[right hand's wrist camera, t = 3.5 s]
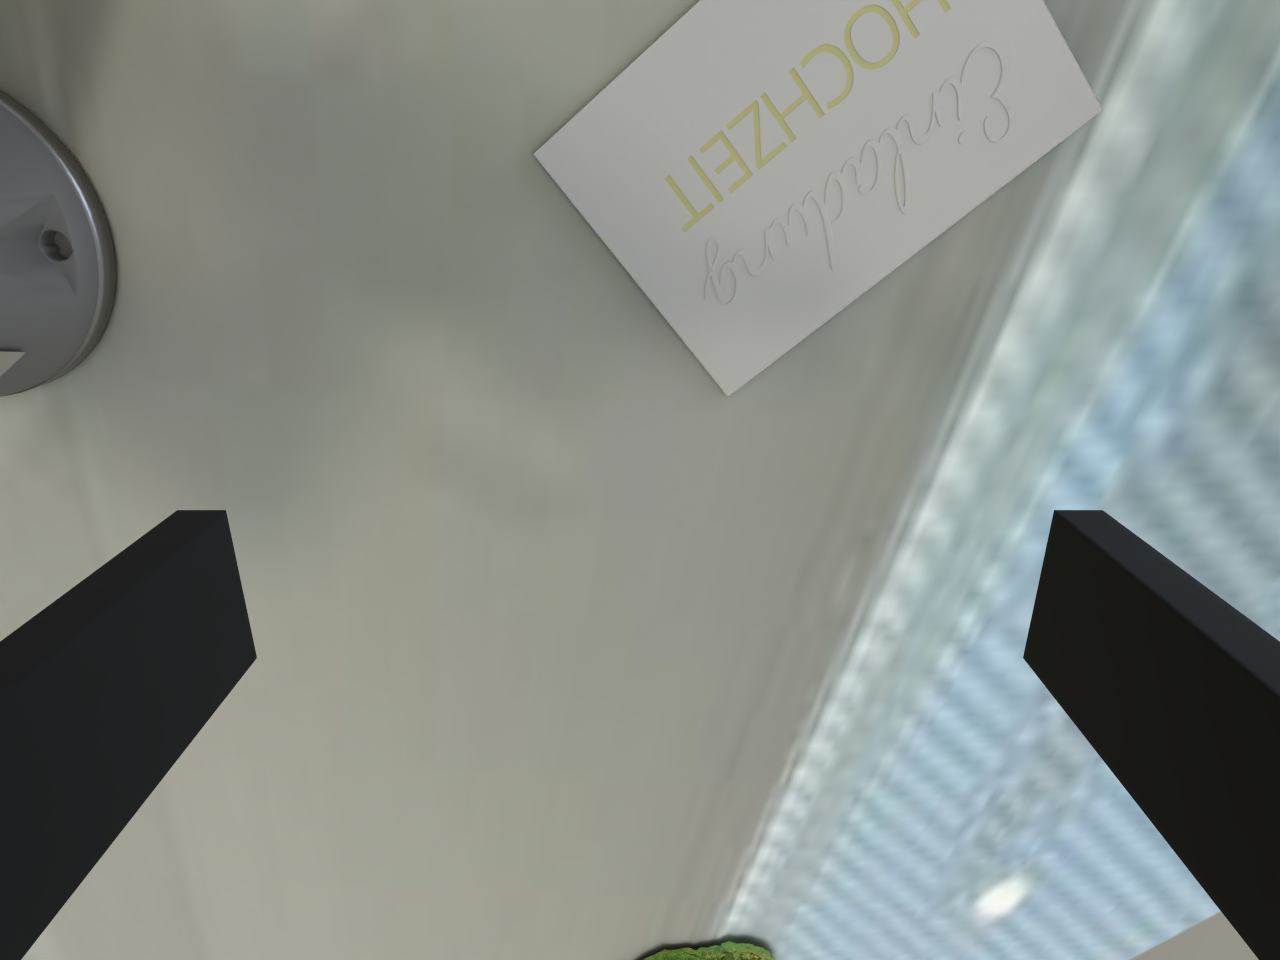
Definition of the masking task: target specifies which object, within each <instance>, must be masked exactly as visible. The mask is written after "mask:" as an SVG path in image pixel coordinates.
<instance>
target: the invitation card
mask: <svg viewBox="0 0 1280 960" xmlns="http://www.w3.org/2000/svg"><path fill="white" fill-rule="evenodd" d="M1102 110H1103V109H1102V107H1101V106H1100V104H1099V102H1098V100H1097V98H1096V96H1095V95H1094V93H1093V91H1092V89H1091V87H1090V85H1089V84H1088V82H1087V80H1086V78H1085V76H1084V74H1083V73H1082V71H1081V69H1080V67H1079V65H1078V63H1077V62H1076V60H1075V58H1074V56H1073V54H1072V53H1071V51H1070V49H1069V47H1068V45H1067V43H1066V42H1065V40H1064V38H1063V36H1062V34H1061V32H1060V31H1059V29H1058V27H1057V25H1056V23H1055V21H1054V20H1053V18H1052V16H1051V14H1050V12H1049V10H1048V9H1047V7H1046V5H1045V3H1044V1H1043V0H700V1H699V2H698V3H697V4H696V5H694V6H693V7H692V8H691V9H690V10H689V11H688V12H687V13H686V14H685V15H684V16H683V17H681V18H680V19H679V20H678V21H677V22H676V23H675V24H674V25H673V26H672V27H671V28H670V29H668V30H667V31H666V32H665V33H664V34H663V35H662V36H661V37H660V38H659V39H658V40H656V41H655V42H654V43H653V44H652V45H651V46H650V47H649V48H648V49H647V50H646V51H645V52H643V53H642V54H641V55H640V56H639V57H638V58H637V59H636V60H635V61H634V62H633V63H632V64H630V65H629V66H628V67H627V68H626V69H625V70H624V71H623V72H622V73H621V74H620V75H619V76H617V77H616V78H615V79H614V80H613V81H612V82H611V83H610V84H609V85H608V86H607V87H605V88H604V89H603V90H602V91H601V92H600V93H599V94H598V95H597V96H596V97H595V98H594V99H592V100H591V101H590V102H589V103H588V104H587V105H586V106H585V107H584V108H583V109H582V110H581V111H579V112H578V113H577V114H576V115H575V116H574V117H573V118H572V119H571V120H570V121H569V122H567V123H566V124H565V125H564V126H563V127H562V128H561V129H560V130H559V131H558V132H557V133H556V134H554V135H553V136H552V137H551V138H550V139H549V140H548V141H547V142H546V143H545V144H544V145H543V146H541V147H540V148H539V149H538V150H537V151H536V152H535V153H534V156H535V157H536V158H537V159H538V161H539V162H540V163H541V164H542V166H543V167H544V168H545V169H546V171H547V172H548V173H549V174H550V176H551V177H552V178H553V179H554V181H555V182H556V183H557V184H558V186H559V187H560V188H561V189H562V191H563V192H564V193H565V194H566V196H567V197H568V198H569V199H570V201H571V202H572V203H573V204H574V206H575V207H576V208H577V209H578V211H579V212H580V213H581V214H582V216H583V217H584V218H585V219H586V221H587V222H588V223H589V224H590V225H591V227H592V228H593V229H594V230H595V232H596V233H597V234H598V235H599V237H600V238H601V239H602V240H603V242H604V243H605V244H606V245H607V247H608V248H609V249H610V250H611V252H612V253H613V254H614V255H615V257H616V258H617V259H618V260H619V262H620V263H621V264H622V265H623V267H624V268H625V269H626V270H627V272H628V273H629V274H630V275H631V277H632V278H633V279H634V280H635V282H636V283H637V284H638V285H639V287H640V288H641V289H642V290H643V292H644V293H645V294H646V295H647V297H648V298H649V299H650V300H651V302H652V303H653V304H654V305H655V307H656V308H657V309H658V310H659V312H660V313H661V314H662V315H663V317H664V318H665V319H666V320H667V322H668V323H669V324H670V325H671V327H672V328H673V329H674V330H675V332H676V333H677V334H678V335H679V337H680V338H681V339H682V340H683V341H684V343H685V344H686V345H687V346H688V348H689V349H690V350H691V351H692V353H693V354H694V355H695V356H696V358H697V359H698V360H699V361H700V363H701V364H702V365H703V366H704V368H705V369H706V370H707V371H708V373H709V374H710V375H711V376H712V378H713V379H714V380H715V381H716V383H717V384H718V385H719V386H720V388H721V389H722V390H723V391H724V393H725V394H726V395H727V396H728V397H729V396H730V395H731V394H733V393H734V392H735V391H737V390H738V389H739V388H740V387H742V386H743V385H744V384H746V383H747V382H748V381H750V380H751V379H752V378H753V377H755V376H756V375H757V374H759V373H760V372H761V371H763V370H764V369H765V368H767V367H768V366H769V365H770V364H772V363H773V362H774V361H776V360H777V359H778V358H780V357H781V356H782V355H784V354H785V353H786V352H787V351H789V350H790V349H791V348H793V347H794V346H795V345H797V344H798V343H799V342H800V341H802V340H803V339H804V338H806V337H807V336H808V335H810V334H811V333H812V332H814V331H815V330H816V329H817V328H819V327H820V326H821V325H823V324H824V323H825V322H827V321H828V320H829V319H831V318H832V317H833V316H834V315H836V314H837V313H838V312H840V311H841V310H842V309H844V308H845V307H846V306H847V305H849V304H850V303H851V302H853V301H854V300H855V299H857V298H858V297H859V296H861V295H862V294H863V293H864V292H866V291H867V290H868V289H870V288H871V287H872V286H874V285H875V284H876V283H878V282H879V281H880V280H881V279H883V278H884V277H885V276H887V275H888V274H889V273H891V272H892V271H893V270H894V269H896V268H897V267H898V266H900V265H901V264H902V263H904V262H905V261H906V260H908V259H909V258H910V257H911V256H913V255H914V254H915V253H917V252H918V251H919V250H921V249H922V248H923V247H924V246H926V245H927V244H928V243H930V242H931V241H932V240H934V239H935V238H936V237H938V236H939V235H940V234H941V233H943V232H944V231H945V230H947V229H948V228H949V227H951V226H952V225H953V224H955V223H956V222H957V221H958V220H960V219H961V218H962V217H964V216H965V215H966V214H968V213H969V212H970V211H971V210H973V209H974V208H975V207H977V206H978V205H979V204H981V203H982V202H983V201H985V200H986V199H987V198H988V197H990V196H991V195H992V194H994V193H995V192H996V191H998V190H999V189H1000V188H1002V187H1003V186H1004V185H1005V184H1007V183H1008V182H1009V181H1011V180H1012V179H1013V178H1015V177H1016V176H1017V175H1018V174H1020V173H1021V172H1022V171H1024V170H1025V169H1026V168H1028V167H1029V166H1030V165H1032V164H1033V163H1034V162H1035V161H1037V160H1038V159H1039V158H1041V157H1042V156H1043V155H1045V154H1046V153H1047V152H1049V151H1050V150H1051V149H1052V148H1054V147H1055V146H1056V145H1058V144H1059V143H1060V142H1062V141H1063V140H1064V139H1065V138H1067V137H1068V136H1069V135H1071V134H1072V133H1073V132H1075V131H1076V130H1077V129H1079V128H1080V127H1081V126H1082V125H1084V124H1085V123H1086V122H1088V121H1089V120H1090V119H1092V118H1093V117H1094V116H1096V115H1097V114H1098V113H1099V112H1101V111H1102Z"/></svg>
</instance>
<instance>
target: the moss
mask: <svg viewBox="0 0 1280 960" xmlns="http://www.w3.org/2000/svg"><path fill="white" fill-rule="evenodd" d="M643 960H775V959H774V958H772V957H771V953H770V952H769V950H765V949H764V948H762V947H758V946H754V945H753V944H749V943H748V944H745V943H738V944H737V943H734V942H731V941H728V942H726V943H722V944H721V946H718V945H714V946H712V947H708V948H705V947H704V948H703V947H701V948H699V949H698V950H693V949H691V948H682V949H675V950H662V951H660V952H658V953H656V954H654V955H652V956H650V957H647V958H645V959H643Z"/></svg>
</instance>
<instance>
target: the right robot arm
mask: <svg viewBox="0 0 1280 960" xmlns="http://www.w3.org/2000/svg"><path fill="white" fill-rule="evenodd" d="M115 289H116V265H115V255H114V248H113V242H112V238H111V234H110V231H109V227H108V224H107V221H106V218H105V215H104V212H103V209H102V207H101V205H100V203H99V200H98V198H97V196H96V194H95V192H94V190H93V188H92V186H91V185H90V183H89V181H88V179H87V177H86V176H85V174H84V173H83V171H82V170H81V168H80V166H79V165H78V163H77V162H76V160H75V159H74V158H73V157H72V155H71V154H70V153H69V151H68V150H67V149H66V147H65V146H64V145H63V144H62V143H61V142H60V141H59V139H58V138H57V137H56V136H55V135H54V134H53V133H52V132H51V131H50V130H49V129H48V128H47V127H46V126H45V125H44V124H43V123H42V122H41V121H40V120H39V119H38V118H37V117H36V116H34V115H33V114H32V113H31V112H30V111H28V110H27V109H26V108H25V107H23V106H22V105H21V104H19V103H18V102H17V101H15V100H14V99H12V98H11V97H9V96H8V95H7V94H5V93H3V92H2V91H0V396H7V395H12V394H16V393H20V392H23V391H26V390H29V389H32V388H35V387H37V386H40V385H43V384H46V383H48V382H51V381H53V380H55V379H57V378H59V377H61V376H63V375H64V374H66V373H68V372H69V371H71V370H72V369H74V368H75V367H76V366H77V365H78V364H79V363H81V362H82V361H83V360H84V359H85V358H86V357H87V356H88V354H89V353H90V352H91V351H92V350H93V348H94V347H95V346H96V344H97V343H98V341H99V340H100V338H101V336H102V334H103V332H104V330H105V328H106V326H107V323H108V320H109V318H110V315H111V311H112V307H113V303H114V296H115ZM256 658H257V656H256V652H255V647H254V642H253V637H252V633H251V628H250V623H249V618H248V614H247V609H246V604H245V599H244V595H243V590H242V585H241V580H240V575H239V571H238V566H237V561H236V556H235V552H234V547H233V542H232V537H231V533H230V528H229V523H228V518H227V514H226V510H177V511H176V512H175V513H173V514H172V515H171V516H169V517H168V518H166V519H165V520H164V521H162V522H161V523H160V524H158V525H157V526H156V527H154V528H153V529H152V530H150V531H149V532H148V533H146V534H145V535H144V536H142V537H141V538H139V539H138V540H137V541H135V542H134V543H133V544H131V545H130V546H129V547H127V548H126V549H125V550H123V551H122V552H121V553H119V554H118V555H117V556H115V557H114V558H113V559H111V560H110V561H108V562H107V563H106V564H104V565H103V566H102V567H100V568H99V569H98V570H96V571H95V572H94V573H92V574H91V575H90V576H88V577H87V578H86V579H84V580H83V581H82V582H80V583H79V584H77V585H76V586H75V587H73V588H72V589H71V590H69V591H68V592H67V593H65V594H64V595H63V596H61V597H60V598H59V599H57V600H56V601H55V602H53V603H52V604H51V605H49V606H48V607H46V608H45V609H44V610H42V611H41V612H40V613H38V614H37V615H36V616H34V617H33V618H32V619H30V620H29V621H28V622H26V623H25V624H24V625H22V626H21V627H20V628H18V629H17V630H15V631H14V632H13V633H11V634H10V635H9V636H7V637H6V638H5V639H3V640H2V641H1V642H0V960H21V959H22V958H23V956H24V955H25V954H26V953H27V951H28V950H29V949H30V947H31V946H32V945H33V944H34V942H35V941H36V940H37V938H38V937H39V936H40V935H41V933H42V932H43V931H44V930H45V928H46V927H47V926H48V924H49V923H50V922H51V921H52V919H53V918H54V917H55V915H56V914H57V913H58V912H59V910H60V909H61V908H62V906H63V905H64V904H65V903H66V901H67V900H68V899H69V898H70V896H71V895H72V894H73V892H74V891H75V890H76V889H77V887H78V886H79V885H80V883H81V882H82V881H83V880H84V878H85V877H86V876H87V874H88V873H89V872H90V871H91V869H92V868H93V867H94V866H95V864H96V863H97V862H98V860H99V859H100V858H101V857H102V855H103V854H104V853H105V851H106V850H107V849H108V848H109V846H110V845H111V844H112V842H113V841H114V840H115V839H116V837H117V836H118V835H119V834H120V832H121V831H122V830H123V828H124V827H125V826H126V825H127V823H128V822H129V821H130V819H131V818H132V817H133V816H134V814H135V813H136V812H137V810H138V809H139V808H140V807H141V805H142V804H143V803H144V802H145V800H146V799H147V798H148V796H149V795H150V794H151V793H152V791H153V790H154V789H155V787H156V786H157V785H158V784H159V782H160V781H161V780H162V778H163V777H164V776H165V775H166V773H167V772H168V771H169V770H170V768H171V767H172V766H173V764H174V763H175V762H176V761H177V759H178V758H179V757H180V755H181V754H182V753H183V752H184V750H185V749H186V748H187V746H188V745H189V744H190V743H191V741H192V740H193V739H194V738H195V736H196V735H197V734H198V732H199V731H200V730H201V729H202V727H203V726H204V725H205V723H206V722H207V721H208V720H209V718H210V717H211V716H212V714H213V713H214V712H215V711H216V709H217V708H218V707H219V706H220V704H221V703H222V702H223V700H224V699H225V698H226V697H227V695H228V694H229V693H230V691H231V690H232V689H233V688H234V686H235V685H236V684H237V682H238V681H239V680H240V679H241V677H242V676H243V675H244V674H245V672H246V671H247V670H248V668H249V667H250V666H251V665H252V663H253V662H254V661H255V659H256ZM1023 658H1024V659H1025V661H1026V662H1027V663H1028V665H1029V666H1030V667H1031V668H1032V670H1033V671H1034V672H1035V674H1036V675H1037V676H1038V677H1039V679H1040V680H1041V681H1042V682H1043V684H1044V685H1045V686H1046V688H1047V689H1048V690H1049V691H1050V693H1051V694H1052V695H1053V697H1054V698H1055V699H1056V700H1057V702H1058V703H1059V704H1060V706H1061V707H1062V708H1063V709H1064V711H1065V712H1066V713H1067V714H1068V716H1069V717H1070V718H1071V720H1072V721H1073V722H1074V723H1075V725H1076V726H1077V727H1078V729H1079V730H1080V731H1081V732H1082V734H1083V735H1084V736H1085V738H1086V739H1087V740H1088V741H1089V743H1090V744H1091V745H1092V746H1093V748H1094V749H1095V750H1096V752H1097V753H1098V754H1099V755H1100V757H1101V758H1102V759H1103V761H1104V762H1105V763H1106V764H1107V766H1108V767H1109V768H1110V770H1111V771H1112V772H1113V773H1114V775H1115V776H1116V777H1117V778H1118V780H1119V781H1120V782H1121V784H1122V785H1123V786H1124V787H1125V789H1126V790H1127V791H1128V793H1129V794H1130V795H1131V796H1132V798H1133V799H1134V800H1135V802H1136V803H1137V804H1138V805H1139V807H1140V808H1141V809H1142V810H1143V812H1144V813H1145V814H1146V816H1147V817H1148V818H1149V819H1150V821H1151V822H1152V823H1153V825H1154V826H1155V827H1156V828H1157V830H1158V831H1159V832H1160V834H1161V835H1162V836H1163V837H1164V839H1165V840H1166V841H1167V842H1168V844H1169V845H1170V846H1171V848H1172V849H1173V850H1174V851H1175V853H1176V854H1177V855H1178V857H1179V858H1180V859H1181V860H1182V862H1183V863H1184V864H1185V866H1186V867H1187V868H1188V869H1189V871H1190V872H1191V873H1192V874H1193V876H1194V877H1195V878H1196V880H1197V881H1198V882H1199V883H1200V885H1201V886H1202V887H1203V889H1204V890H1205V891H1206V892H1207V894H1208V895H1209V896H1210V898H1211V899H1212V900H1213V901H1214V903H1215V904H1216V905H1217V906H1218V908H1219V909H1220V910H1221V912H1222V913H1223V914H1224V915H1225V917H1226V918H1227V919H1228V921H1229V922H1230V923H1231V924H1232V926H1233V927H1234V928H1235V930H1236V931H1237V932H1238V933H1239V935H1240V936H1241V937H1242V938H1243V940H1244V941H1245V942H1246V944H1247V945H1248V946H1249V947H1250V949H1251V950H1252V951H1253V953H1254V954H1255V955H1256V956H1257V958H1258V959H1259V960H1280V642H1279V641H1278V640H1277V639H1275V638H1274V637H1273V636H1271V635H1270V634H1269V633H1267V632H1266V631H1265V630H1263V629H1262V628H1260V627H1259V626H1258V625H1256V624H1255V623H1254V622H1252V621H1251V620H1250V619H1248V618H1247V617H1246V616H1244V615H1243V614H1242V613H1240V612H1239V611H1238V610H1236V609H1235V608H1234V607H1232V606H1231V605H1229V604H1228V603H1227V602H1225V601H1224V600H1223V599H1221V598H1220V597H1219V596H1217V595H1216V594H1215V593H1213V592H1212V591H1211V590H1209V589H1208V588H1207V587H1205V586H1204V585H1203V584H1201V583H1200V582H1198V581H1197V580H1196V579H1194V578H1193V577H1192V576H1190V575H1189V574H1188V573H1186V572H1185V571H1184V570H1182V569H1181V568H1180V567H1178V566H1177V565H1176V564H1174V563H1173V562H1172V561H1170V560H1169V559H1167V558H1166V557H1165V556H1163V555H1162V554H1161V553H1159V552H1158V551H1157V550H1155V549H1154V548H1153V547H1151V546H1150V545H1149V544H1147V543H1146V542H1145V541H1143V540H1142V539H1141V538H1139V537H1138V536H1136V535H1135V534H1134V533H1132V532H1131V531H1130V530H1128V529H1127V528H1126V527H1124V526H1123V525H1122V524H1120V523H1119V522H1118V521H1116V520H1115V519H1114V518H1112V517H1111V516H1109V515H1108V514H1107V513H1105V512H1104V511H1103V510H1054V514H1053V518H1052V523H1051V528H1050V533H1049V537H1048V542H1047V547H1046V552H1045V556H1044V561H1043V566H1042V571H1041V575H1040V580H1039V585H1038V590H1037V595H1036V599H1035V604H1034V609H1033V614H1032V618H1031V623H1030V628H1029V633H1028V637H1027V642H1026V647H1025V652H1024V656H1023Z"/></svg>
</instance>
